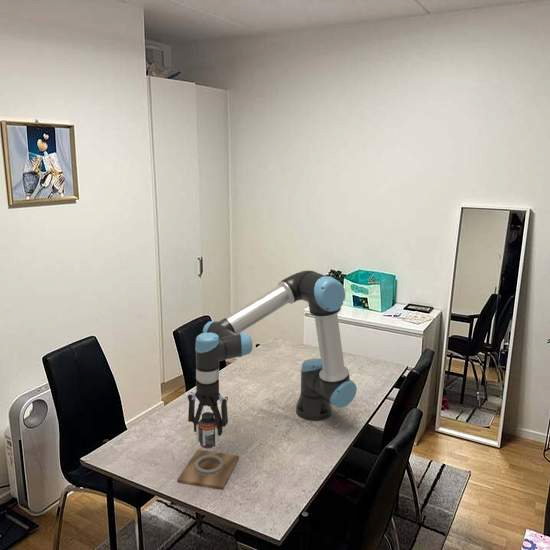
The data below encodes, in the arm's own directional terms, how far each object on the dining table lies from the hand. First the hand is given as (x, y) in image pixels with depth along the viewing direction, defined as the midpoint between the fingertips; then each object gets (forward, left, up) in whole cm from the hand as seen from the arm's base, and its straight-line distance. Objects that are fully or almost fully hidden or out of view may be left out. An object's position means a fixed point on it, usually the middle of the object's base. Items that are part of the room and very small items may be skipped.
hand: (208, 441), depth 175 cm
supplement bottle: (0, 0, -1) cm, 1 cm away
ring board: (0, 0, -11) cm, 11 cm away
